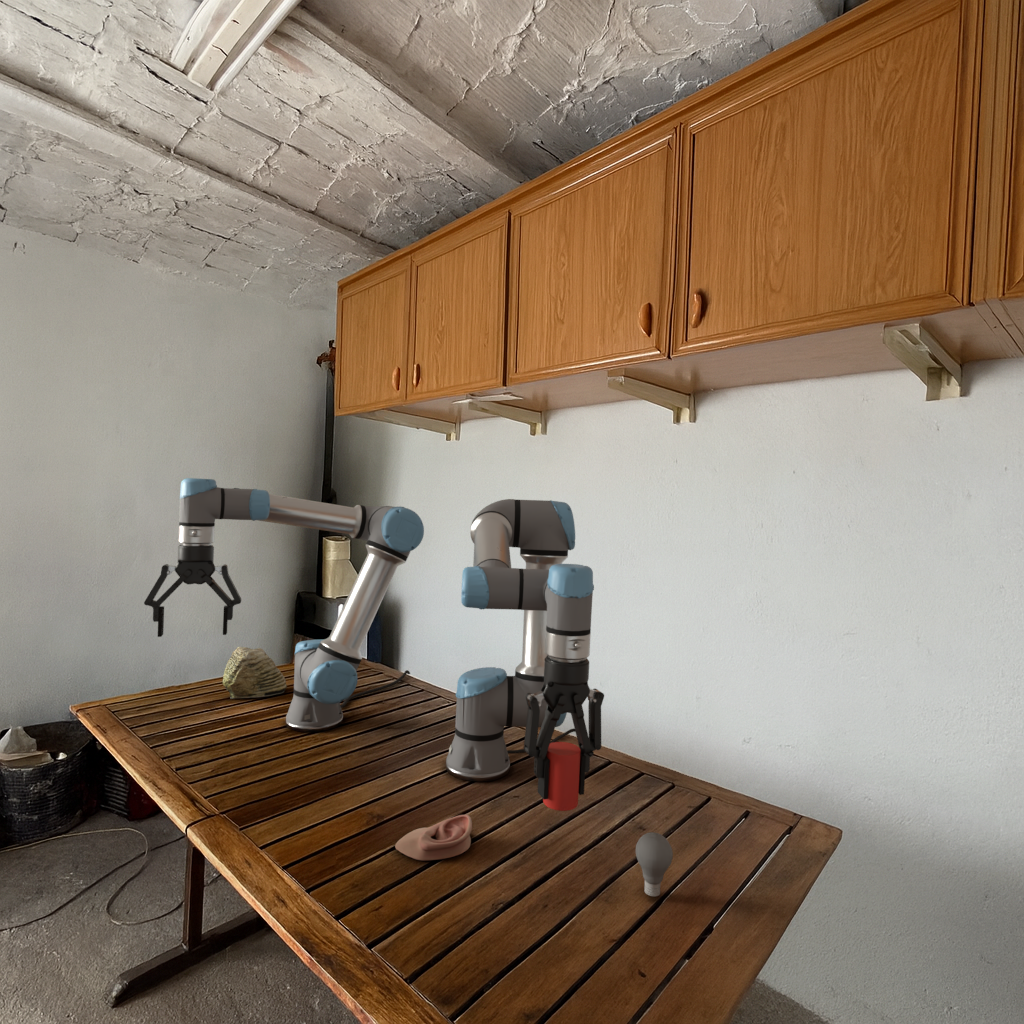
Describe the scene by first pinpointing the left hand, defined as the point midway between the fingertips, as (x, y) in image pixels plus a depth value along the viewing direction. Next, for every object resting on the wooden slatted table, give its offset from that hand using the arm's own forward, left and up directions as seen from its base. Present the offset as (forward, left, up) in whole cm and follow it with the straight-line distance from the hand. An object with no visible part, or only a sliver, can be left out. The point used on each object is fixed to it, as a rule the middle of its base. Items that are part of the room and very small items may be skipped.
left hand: (193, 634), depth 148 cm
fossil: (-35, -34, -30) cm, 57 cm away
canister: (-20, +92, -16) cm, 95 cm away
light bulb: (-28, +105, -30) cm, 113 cm away
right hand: (-20, +92, -14) cm, 95 cm away
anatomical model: (-14, +68, -30) cm, 76 cm away
